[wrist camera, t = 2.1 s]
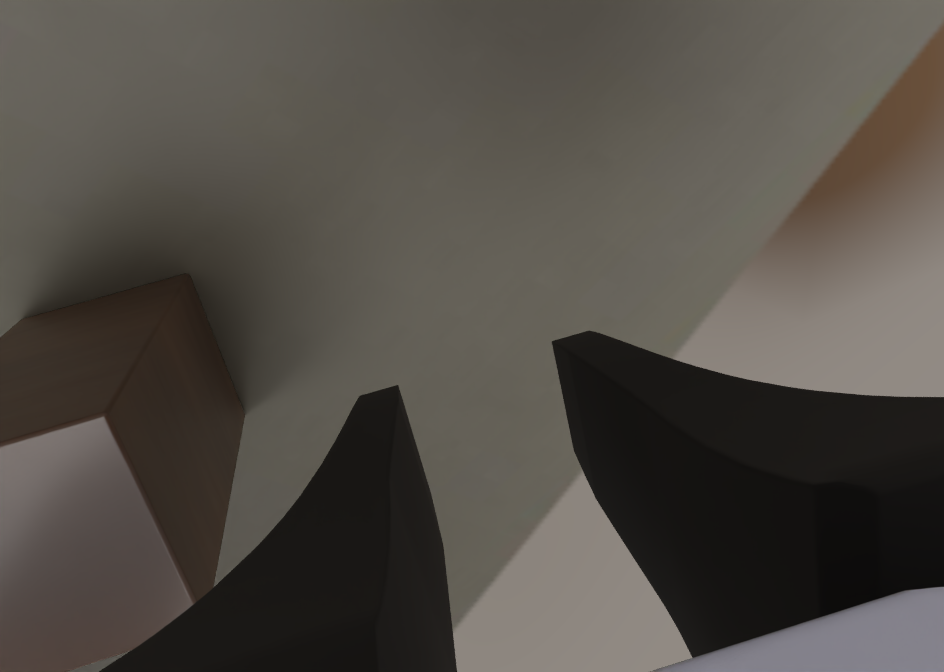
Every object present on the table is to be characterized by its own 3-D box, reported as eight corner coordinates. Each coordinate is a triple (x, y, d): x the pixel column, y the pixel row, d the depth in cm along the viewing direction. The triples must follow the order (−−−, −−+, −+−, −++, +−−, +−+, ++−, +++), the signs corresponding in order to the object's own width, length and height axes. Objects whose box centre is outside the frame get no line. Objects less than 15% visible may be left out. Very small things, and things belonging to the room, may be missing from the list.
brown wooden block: (246, 415, 22) (207, 627, 14) (90, 463, 21) (-48, 711, 13) (189, 272, 20) (106, 411, 12) (19, 319, 20) (-190, 499, 11)
